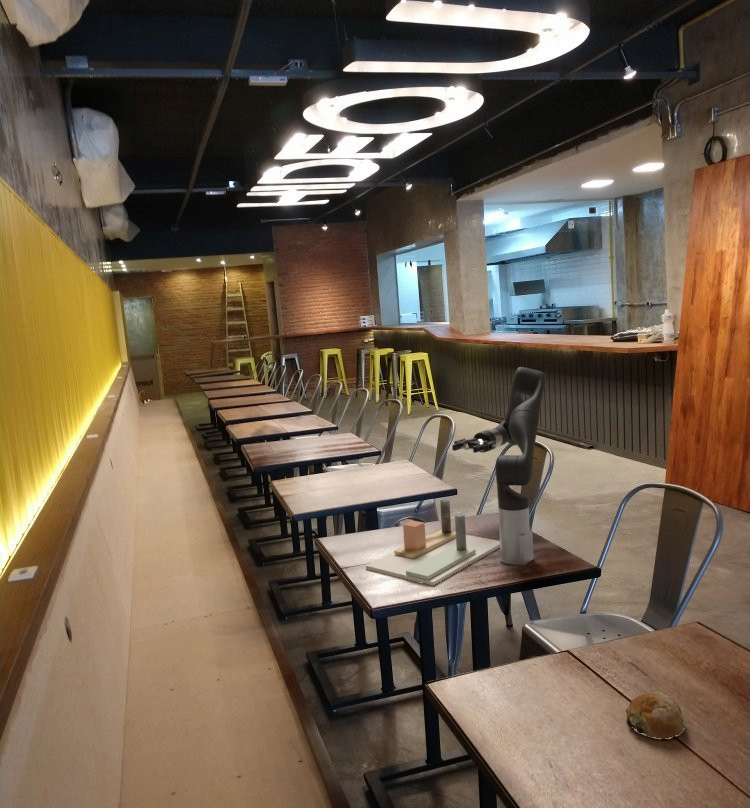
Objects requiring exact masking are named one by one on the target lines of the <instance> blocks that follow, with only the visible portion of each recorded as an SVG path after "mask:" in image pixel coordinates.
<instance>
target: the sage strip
mask: <svg viewBox="0 0 750 808" xmlns="http://www.w3.org/2000/svg"><path fill="white" fill-rule="evenodd" d="M454 526H455V530H454V531H456V545H454V546H452V547H450V548H448V549H446V550H445V551H443V552H441V553H439V554H437V555H435V556H433V557H431V558H429V559H428V560H426V561H424V562H422V563H420V564H418V565H416V566H414V567H412V568H411V569H409V570H407V571H406V575H409V576H413V577H417V578H421V579H425V580H429V579H431V578H433V577H434V576H436V575H438V574H440V573H441V572H443V571H445V570H447V569H448V568H450V567H452V566H454V565H455V564H457V563H459V562H461V561H462V560H464V559H466V558H468V557H470V556H471V555H473V554H475V553H476V549H471V548H467V547H466V535H467V531H466V515H465V514H460V513H459V514H455V515H454Z"/></svg>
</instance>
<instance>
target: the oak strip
mask: <svg viewBox="0 0 750 808" xmlns="http://www.w3.org/2000/svg"><path fill="white" fill-rule="evenodd" d="M439 502H440V521H441V523H440V525H441V528H438V529H436V530H435V531H432V532H430V533H428V534H425V538H426V547H424V548H422V549H420V550H418V551H415V550H410V549H405V548H404V545H403V546H401V547H399V548H397V549H395V550H394V551H393V552H394V554H395V555H400V556H404V557H409V558H413V559H415V558H417V557H419V556H421V555H423V554H424V553H426V552H428V551H430V550H432V549H434V548H436V547H438V546H440V545H442V544H444V543H446V542H448V541H450V540H452V539H454V538H455V537H456V530H452V522H451V520H452V519H451V518H452V517H451V502H450V500H449V499H441V500H440V501H439Z"/></svg>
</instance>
